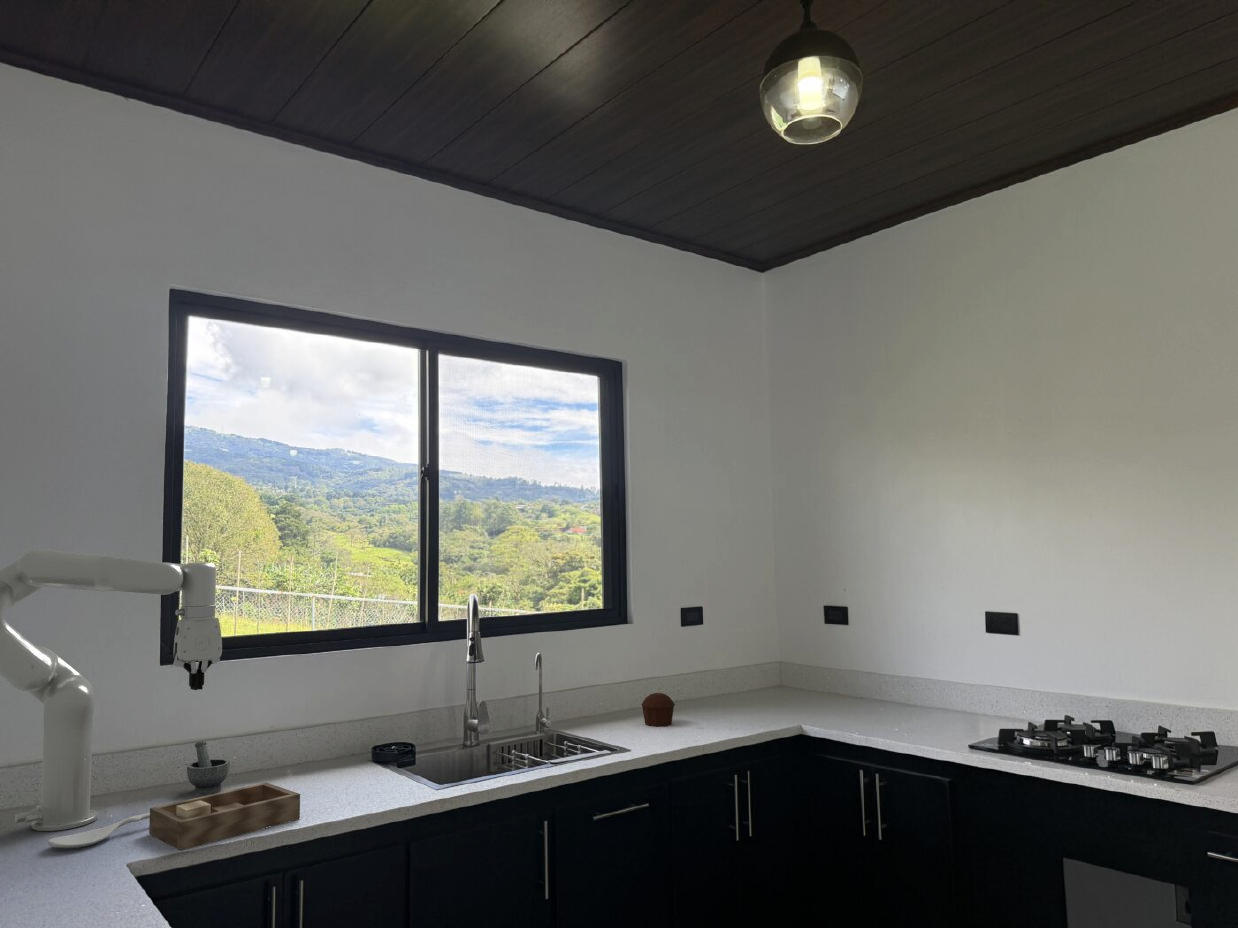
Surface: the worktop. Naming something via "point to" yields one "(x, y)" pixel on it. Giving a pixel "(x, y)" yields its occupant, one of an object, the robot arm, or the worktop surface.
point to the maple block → (193, 809)
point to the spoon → (92, 834)
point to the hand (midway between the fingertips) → (196, 688)
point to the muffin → (658, 710)
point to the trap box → (225, 815)
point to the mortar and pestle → (207, 771)
